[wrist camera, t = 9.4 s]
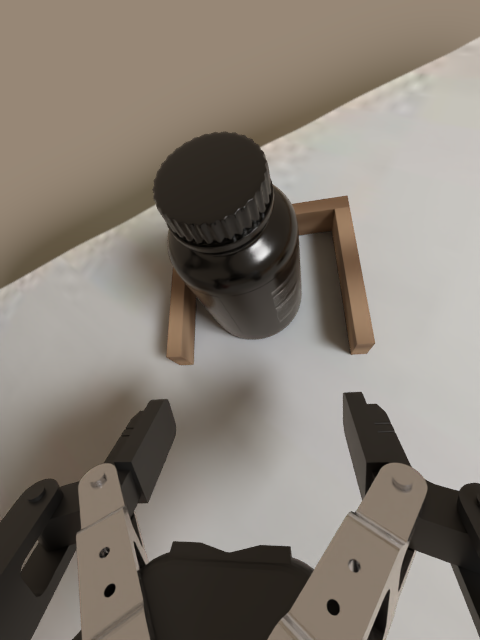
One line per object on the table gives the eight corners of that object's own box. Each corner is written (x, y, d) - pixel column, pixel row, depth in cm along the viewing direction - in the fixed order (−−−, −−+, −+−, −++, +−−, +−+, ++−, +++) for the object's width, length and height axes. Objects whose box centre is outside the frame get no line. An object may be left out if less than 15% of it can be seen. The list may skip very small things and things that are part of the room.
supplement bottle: (274, 245, 24) (250, 87, 13) (319, 314, 21) (336, 188, 10) (199, 285, 24) (111, 162, 13) (233, 358, 21) (160, 281, 10)
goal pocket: (366, 353, 20) (375, 343, 17) (180, 365, 22) (166, 357, 20) (343, 218, 24) (347, 195, 21) (187, 240, 26) (176, 221, 24)
